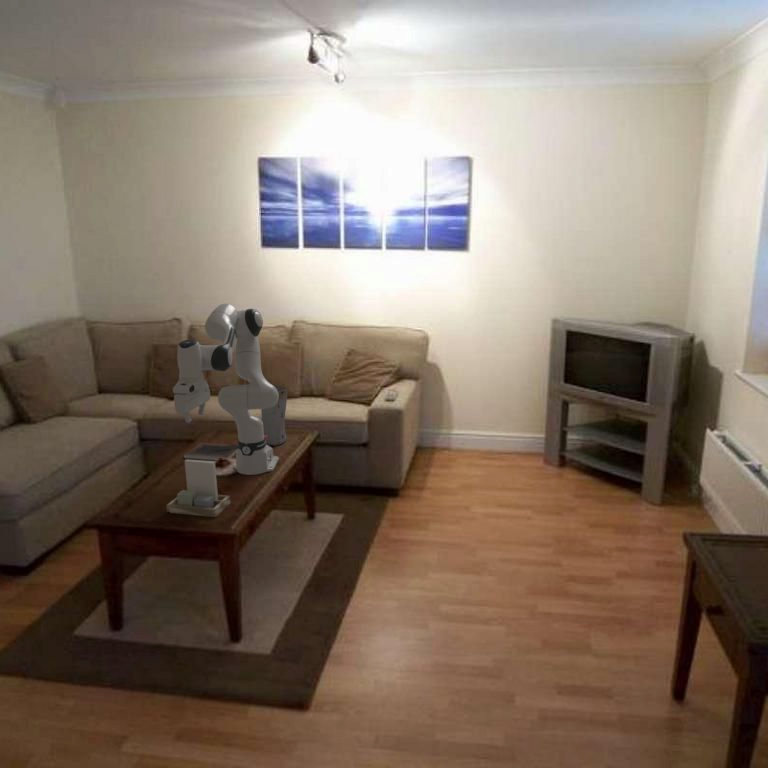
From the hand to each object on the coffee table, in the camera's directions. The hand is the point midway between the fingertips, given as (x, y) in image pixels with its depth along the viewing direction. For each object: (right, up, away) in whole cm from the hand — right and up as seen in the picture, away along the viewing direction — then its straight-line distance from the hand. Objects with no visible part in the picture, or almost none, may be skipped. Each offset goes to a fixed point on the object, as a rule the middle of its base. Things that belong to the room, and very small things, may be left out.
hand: (195, 418), depth 254 cm
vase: (+19, -16, +77) cm, 80 cm away
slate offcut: (+3, -36, +3) cm, 36 cm away
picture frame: (-9, -21, +63) cm, 67 cm away
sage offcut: (-4, -36, +4) cm, 36 cm away
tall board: (+1, -34, +9) cm, 36 cm away
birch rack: (0, -35, +5) cm, 36 cm away
